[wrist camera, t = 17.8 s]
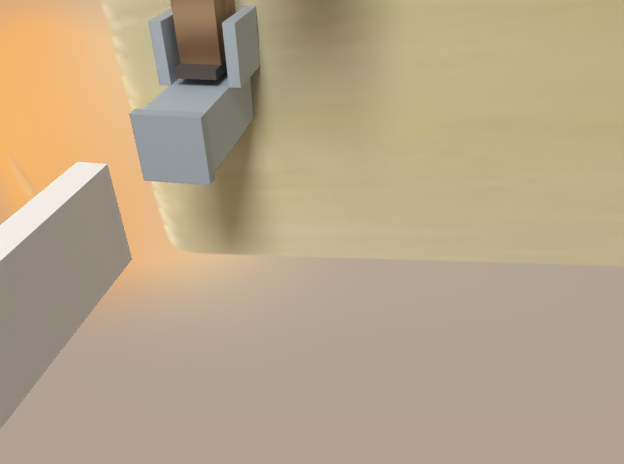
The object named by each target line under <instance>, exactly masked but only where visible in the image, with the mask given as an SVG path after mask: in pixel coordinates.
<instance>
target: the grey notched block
mask: <svg viewBox="0 0 624 464" xmlns="http://www.w3.org/2000/svg"><path fill="white" fill-rule="evenodd" d="M148 23H149V29H150V34H151V39H152V45H153V50H154V56H155V61H156V67H157V72H158V78H159V83H160V85H171V86H169V87H168V88H167V89H166V90H164V91H163V92H162V93H161V94H160V95H158V96H157V97H156V98H155V99H154V100H152V101H151V102H150V103H149V104H147V105H146V106H145V107H144V108H143V109H135V110H134V111H133V112H131V113H130V114H129V115H130V119H131V124H132V128H133V133H134V137H135V142H136V146H137V151H138V155H139V160H140V164H141V169H142V173H143V178H144V180H146V181H158V182H172V183H186V184H199V185H211V184H212V182H213V181H214V180H215V177H214V173H215V172H216V170H217V169H218V168H219V166H220V165H221V163H222V162H223V161H224V159H225V158H226V156H227V155H228V154H229V152H230V151H231V149H232V148H233V147H234V145H235V144H236V142H237V141H238V140H239V138H240V137H241V136H242V134H243V133H244V131H245V130H246V129H247V127H248V126H249V124H250V123H251V122H252V120H253V119H254V112H253V100H252V89H251V76H252V75H253V73H254V72H255V71H256V70H257V69H258V68H259V67H260V56H259V43H258V30H257V16H256V7H246V6H244V7H243V8H242V9H240V10H239V11H238V12H236V13H235V14H233V15H232V16H231V17H229V18H228V19H227V20H225V21H224V22H222V28H223V38H224V47H225V56H226V65H227V70H226V71H225V72H224V73H223V74H222V75H221V76H220V77H219V78H218V79H217V80H200V79H175V73H174V68H175V67H177V66H178V65H179V64H180V58H179V52H178V45H177V39H176V32H175V26H174V19H173V13H172V9H170V10H168V11H167V12H165V13H163V14H161V15H159V16H157V17H155V18H154V19H152V20H150V21H148Z"/></svg>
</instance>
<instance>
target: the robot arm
mask: <svg viewBox="0 0 624 464" xmlns="http://www.w3.org/2000/svg"><path fill="white" fill-rule="evenodd" d="M131 260H132V258H131V254H130V250H129V246H128V242H127V238H126V235H125V231H124V227H123V223H122V219H121V215H120V211H119V207H118V203H117V200H116V196H115V192H114V188H113V184H112V180H111V176H110V173H109V169H108V165H107V164H99V163H84V162H77V163H76V164H75V165H73V166H72V167H71V168H69V169H68V170H67V171H66V172H65V173H63V174H62V175H61V176H60V177H59V178H57V179H56V180H55V181H54V182H52V183H51V184H50V185H49V186H48V187H47V188H45V189H44V190H43V191H42V192H40V193H39V194H38V195H37V196H35V197H34V198H33V199H32V200H31V201H29V202H28V203H27V204H26V205H25V206H23V207H22V208H21V209H20V210H18V211H17V212H16V213H15V214H14V215H12V216H11V217H10V218H9V219H7V220H6V221H5V222H4V223H3V224H1V225H0V429H1V428H2V426H3V425H4V424H5V423H6V421H7V420H8V419H9V417H10V416H11V415H12V414H13V412H14V411H15V410H16V408H17V407H18V406H19V405H20V403H21V402H22V401H23V399H24V398H25V397H26V395H27V394H28V393H29V392H30V390H31V389H32V388H33V386H34V385H35V384H36V382H37V381H38V380H39V379H40V377H41V376H42V375H43V373H44V372H45V371H46V369H47V368H48V367H49V366H50V364H51V363H52V362H53V360H54V359H55V358H56V357H57V355H58V354H59V353H60V351H61V350H62V349H63V348H64V346H65V345H66V344H67V342H68V341H69V340H70V339H71V337H72V336H73V334H74V333H75V332H76V331H77V329H78V328H79V327H80V325H81V324H82V323H83V322H84V320H85V319H86V318H87V316H88V315H89V314H90V313H91V311H92V310H93V309H94V307H95V306H96V305H97V304H98V302H99V301H100V300H101V298H102V297H103V295H104V294H105V293H106V292H107V291H108V289H109V288H110V287H111V285H112V284H113V283H114V282H115V280H116V279H117V277H118V276H119V275H120V274H121V272H122V271H123V270H124V268H125V267H126V266H127V265H128V263H129V262H130V261H131Z"/></svg>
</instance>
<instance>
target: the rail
mask: <svg viewBox="0 0 624 464" xmlns="http://www.w3.org/2000/svg"><path fill="white" fill-rule="evenodd" d="M171 7H172V13H173V19H174V26H175V32H176V39H177V45H178V52H179V58H180V64H179V65H178V66H177V67H175V68H174V73H175V79H200V80H217V79H218V78H219V77H220V76H221V75H222V74H223V73H224V72H225V71H226V70H227V65H226V56H225V47H224V38H223V28H222V22H224V21H225V20H227V19H228V18H229V17H231V16H232V15H233V14H235V3H234V0H171Z"/></svg>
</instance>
